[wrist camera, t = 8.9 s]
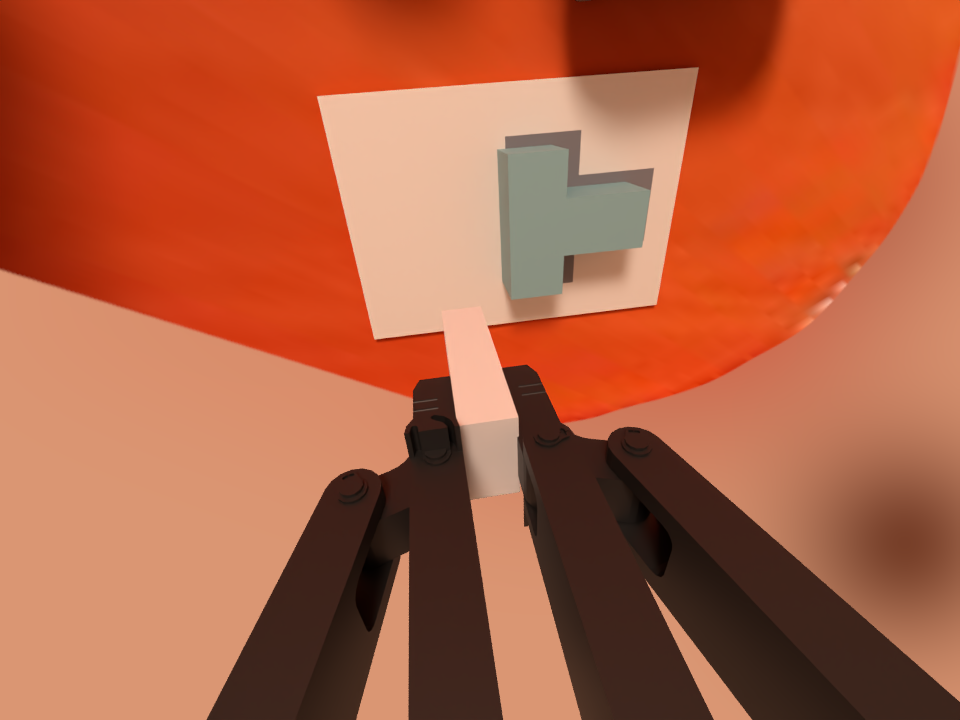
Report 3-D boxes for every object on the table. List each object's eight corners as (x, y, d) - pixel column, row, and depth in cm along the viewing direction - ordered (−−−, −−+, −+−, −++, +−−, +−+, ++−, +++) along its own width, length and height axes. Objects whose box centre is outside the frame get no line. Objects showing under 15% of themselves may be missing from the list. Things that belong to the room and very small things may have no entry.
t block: (497, 149, 29) (507, 154, 26) (630, 137, 30) (657, 141, 27) (502, 281, 35) (511, 299, 31) (615, 268, 35) (636, 285, 32)
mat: (318, 96, 27) (316, 96, 26) (694, 67, 29) (698, 67, 28) (374, 336, 36) (374, 339, 36) (653, 302, 38) (656, 304, 38)
